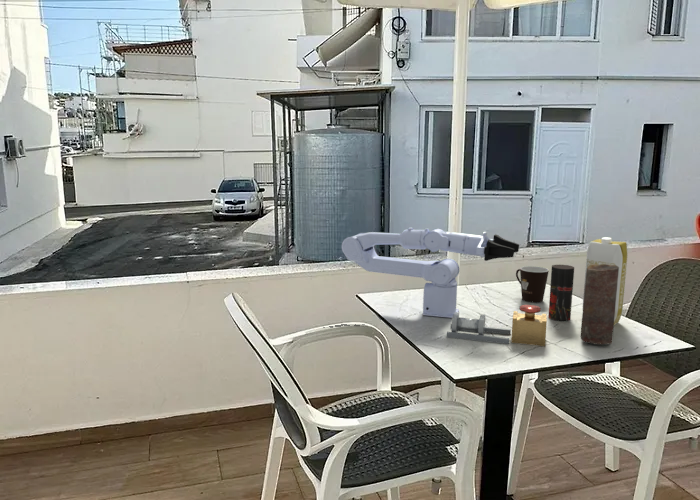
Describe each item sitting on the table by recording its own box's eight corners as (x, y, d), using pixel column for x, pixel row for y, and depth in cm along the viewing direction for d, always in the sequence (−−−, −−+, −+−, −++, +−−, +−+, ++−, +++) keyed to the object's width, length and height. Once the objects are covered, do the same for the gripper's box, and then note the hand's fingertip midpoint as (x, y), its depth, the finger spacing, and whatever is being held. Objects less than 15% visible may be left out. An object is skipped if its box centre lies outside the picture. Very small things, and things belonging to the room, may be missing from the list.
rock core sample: (609, 351, 136) (616, 269, 132) (577, 345, 140) (583, 266, 136) (614, 341, 142) (621, 263, 138) (582, 336, 146) (589, 260, 142)
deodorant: (572, 322, 158) (576, 269, 155) (549, 320, 159) (553, 268, 156) (568, 315, 163) (572, 265, 160) (546, 314, 164) (550, 264, 162)
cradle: (446, 337, 145) (446, 332, 145) (451, 327, 153) (451, 323, 153) (508, 343, 141) (509, 339, 140) (510, 333, 148) (510, 329, 148)
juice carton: (578, 321, 158) (585, 236, 153) (589, 315, 164) (596, 233, 159) (613, 329, 152) (621, 241, 147) (623, 322, 157) (631, 237, 153)
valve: (511, 342, 141) (513, 309, 140) (512, 334, 147) (514, 302, 146) (545, 346, 139) (547, 312, 137) (544, 338, 145) (547, 305, 143)
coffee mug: (550, 303, 175) (552, 272, 174) (522, 303, 176) (524, 272, 174) (538, 293, 187) (540, 264, 185) (512, 293, 187) (514, 264, 185)
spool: (451, 335, 147) (451, 317, 146) (454, 329, 151) (454, 311, 150) (482, 339, 144) (483, 320, 143) (484, 333, 149) (485, 314, 148)
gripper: (461, 233, 152) (513, 240, 146) (474, 226, 164) (522, 232, 159) (459, 259, 153) (510, 266, 147) (472, 250, 166) (519, 256, 160)
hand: (516, 250), depth 153 cm, fingers open, 7 cm apart
